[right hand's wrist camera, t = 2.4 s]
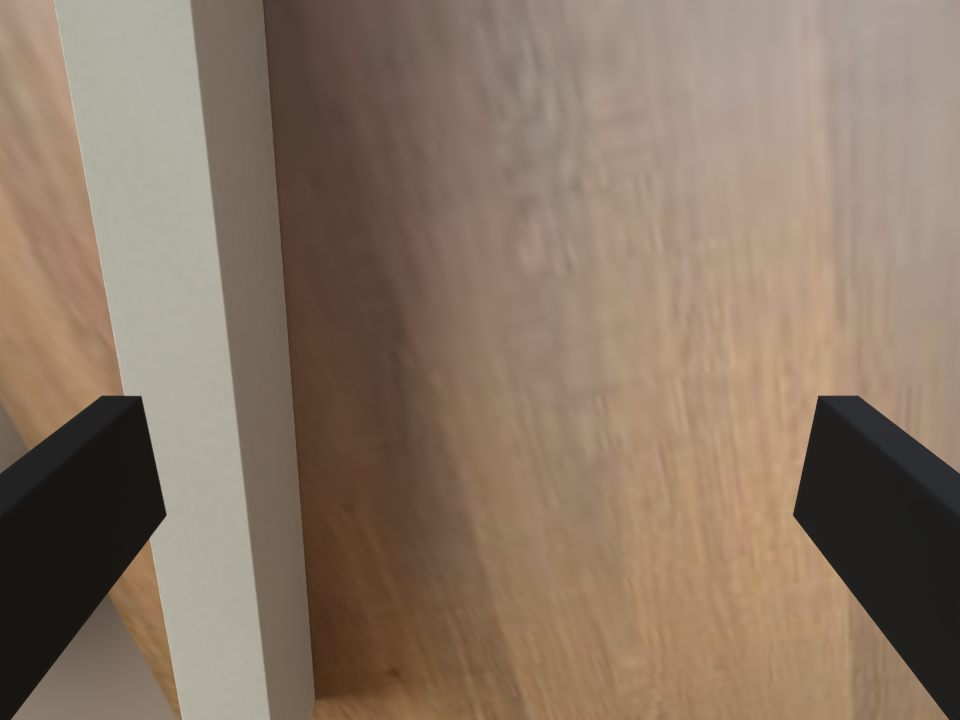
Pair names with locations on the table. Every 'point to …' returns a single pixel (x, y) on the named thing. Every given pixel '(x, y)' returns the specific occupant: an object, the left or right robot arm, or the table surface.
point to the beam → (201, 330)
